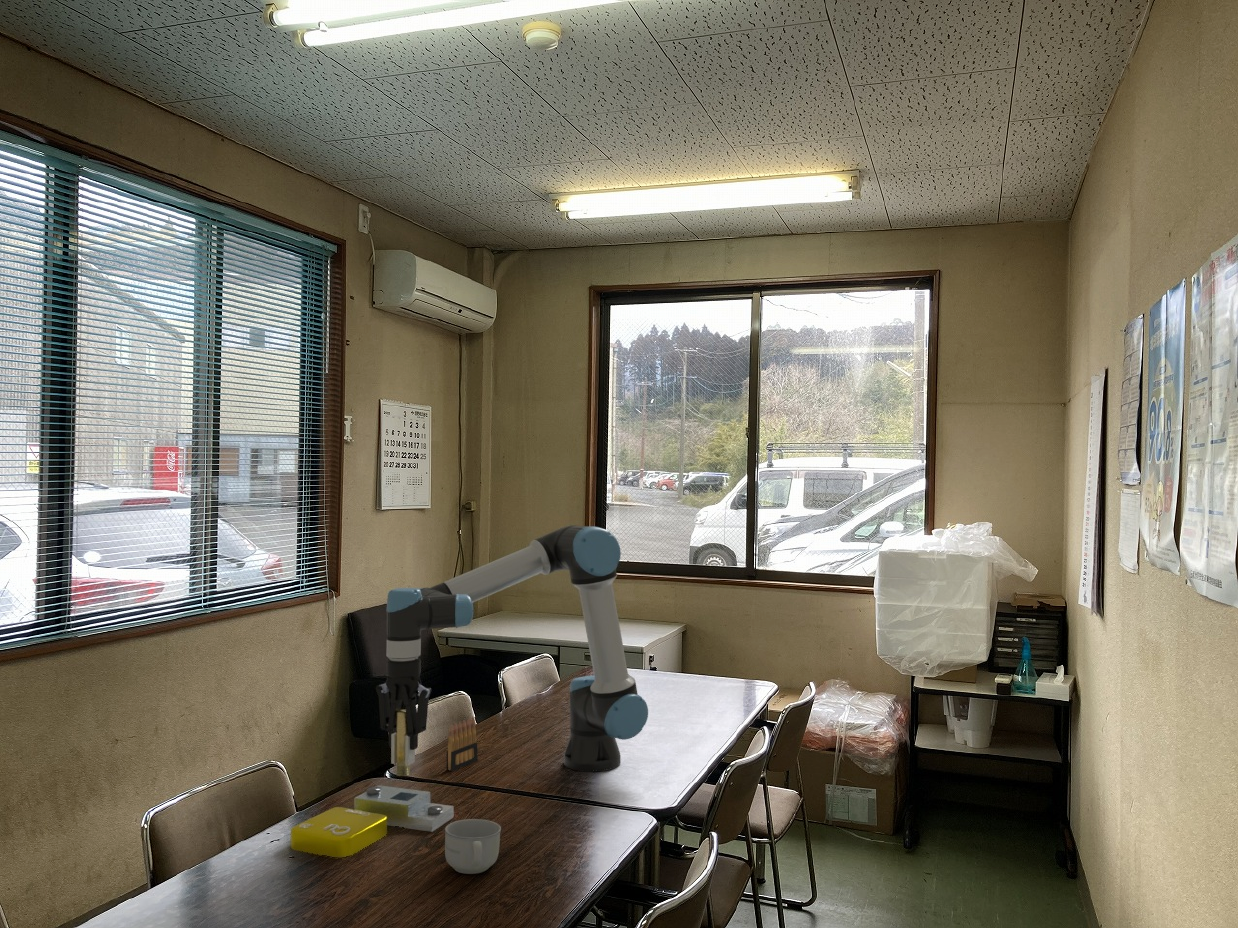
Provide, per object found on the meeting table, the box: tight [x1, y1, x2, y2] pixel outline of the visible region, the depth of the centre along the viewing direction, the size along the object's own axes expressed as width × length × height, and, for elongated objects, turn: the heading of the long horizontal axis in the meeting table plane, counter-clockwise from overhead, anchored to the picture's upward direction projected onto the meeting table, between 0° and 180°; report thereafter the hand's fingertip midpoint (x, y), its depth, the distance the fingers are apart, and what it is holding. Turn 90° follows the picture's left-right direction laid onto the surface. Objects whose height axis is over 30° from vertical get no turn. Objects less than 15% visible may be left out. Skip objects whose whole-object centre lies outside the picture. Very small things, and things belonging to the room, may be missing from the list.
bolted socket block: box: [353, 784, 455, 833], centre depth 204 cm, size 20×9×6 cm, turn 70°
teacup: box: [444, 818, 502, 875], centre depth 177 cm, size 14×11×8 cm
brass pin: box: [395, 709, 411, 777], centre depth 205 cm, size 3×3×14 cm
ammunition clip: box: [445, 716, 479, 772], centre depth 243 cm, size 11×2×12 cm, turn 149°
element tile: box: [290, 806, 388, 858], centre depth 192 cm, size 15×15×5 cm
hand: (403, 762), depth 204 cm, fingers closed on brass pin, 3 cm apart
